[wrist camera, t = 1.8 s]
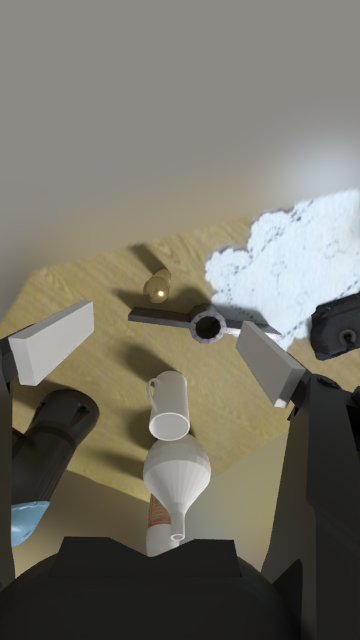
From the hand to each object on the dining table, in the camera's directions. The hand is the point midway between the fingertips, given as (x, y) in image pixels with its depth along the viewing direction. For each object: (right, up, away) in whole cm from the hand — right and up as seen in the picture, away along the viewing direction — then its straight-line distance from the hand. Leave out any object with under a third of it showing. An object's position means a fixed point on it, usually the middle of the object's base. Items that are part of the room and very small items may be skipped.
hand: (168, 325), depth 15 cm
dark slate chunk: (+43, 0, +25) cm, 49 cm away
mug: (-2, -15, +29) cm, 33 cm away
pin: (-2, +9, +19) cm, 21 cm away
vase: (0, -38, +38) cm, 54 cm away
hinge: (+6, +1, +23) cm, 24 cm away
